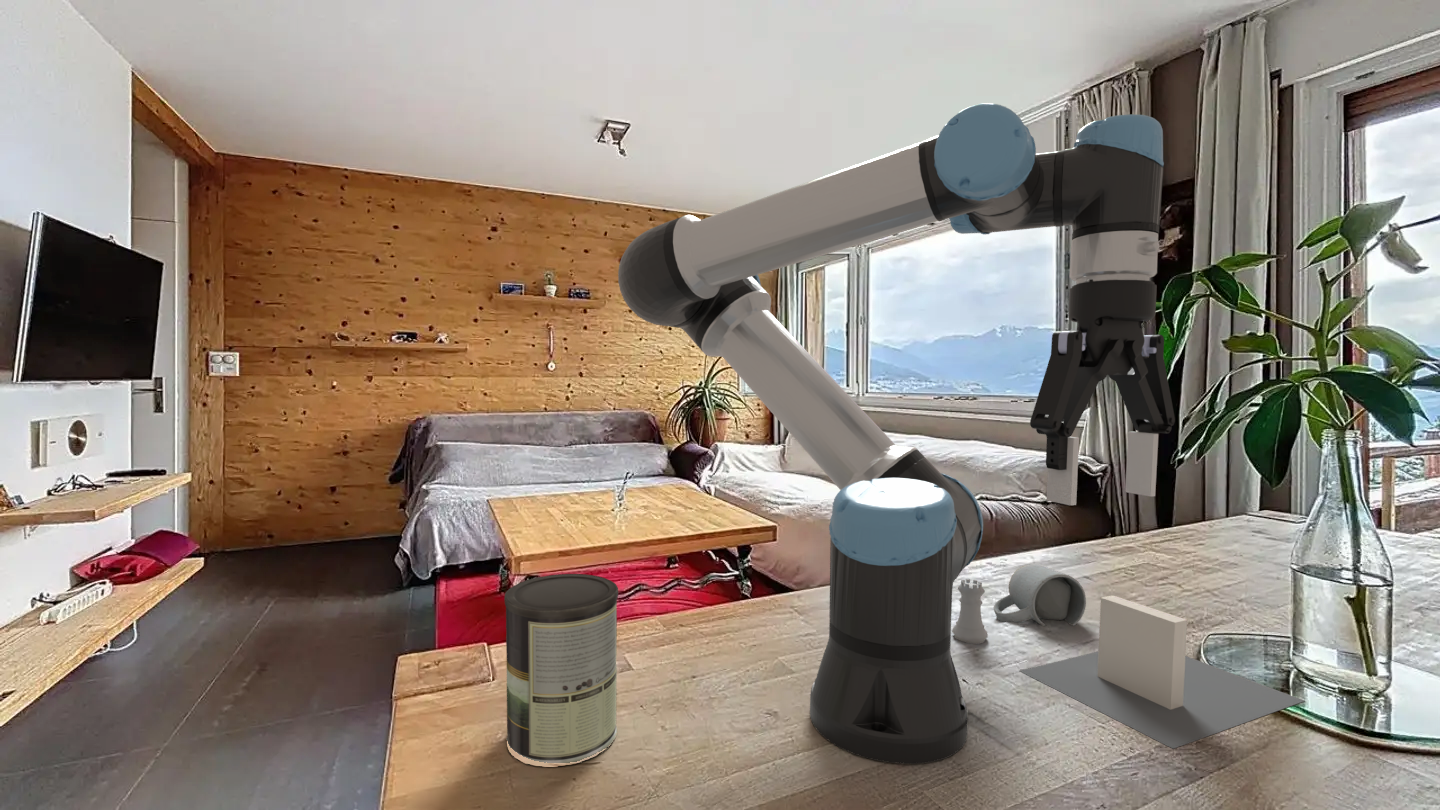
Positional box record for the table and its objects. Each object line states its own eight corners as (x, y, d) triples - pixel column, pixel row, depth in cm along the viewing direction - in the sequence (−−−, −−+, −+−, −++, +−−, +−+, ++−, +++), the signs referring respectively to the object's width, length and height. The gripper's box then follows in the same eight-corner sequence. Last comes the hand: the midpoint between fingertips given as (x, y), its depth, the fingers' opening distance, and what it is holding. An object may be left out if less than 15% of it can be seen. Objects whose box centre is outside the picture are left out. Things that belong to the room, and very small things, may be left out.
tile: (1170, 709, 68) (1174, 622, 67) (1097, 676, 75) (1100, 597, 75) (1183, 705, 69) (1187, 619, 68) (1109, 673, 76) (1113, 595, 76)
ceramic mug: (1051, 608, 99) (1052, 557, 98) (1086, 630, 91) (1088, 574, 90) (982, 611, 98) (983, 559, 97) (1011, 633, 90) (1012, 577, 89)
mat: (1172, 757, 61) (1173, 748, 61) (1019, 677, 76) (1019, 670, 76) (1304, 708, 70) (1304, 700, 70) (1143, 646, 86) (1143, 640, 85)
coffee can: (480, 753, 60) (479, 600, 60) (549, 701, 70) (549, 568, 69) (578, 780, 57) (578, 616, 56) (637, 721, 66) (637, 580, 65)
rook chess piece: (973, 653, 83) (975, 590, 82) (943, 641, 86) (945, 580, 86) (995, 645, 85) (997, 584, 85) (965, 634, 89) (967, 574, 88)
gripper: (1063, 267, 58) (1053, 515, 60) (1223, 285, 68) (1211, 496, 70) (995, 277, 65) (987, 499, 66) (1149, 292, 75) (1139, 484, 76)
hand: (1102, 498), depth 68 cm, fingers open, 11 cm apart
